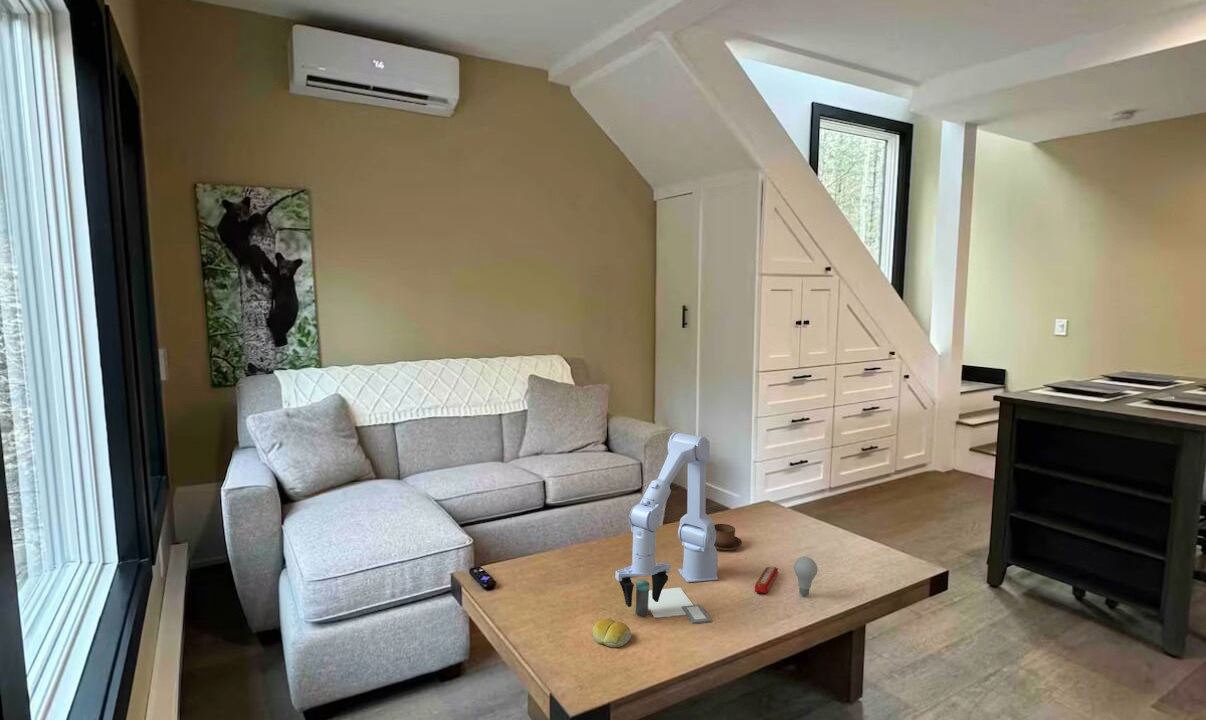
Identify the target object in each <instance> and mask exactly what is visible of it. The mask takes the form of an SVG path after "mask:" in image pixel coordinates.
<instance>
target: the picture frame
mask: <svg viewBox="0 0 1206 720" xmlns="http://www.w3.org/2000/svg"><path fill="white" fill-rule="evenodd" d="M682 609H683V610H684V612H685V613H686V615H685V616H687V619H688V620H689V621H690V622H691V624H693V625H695V624H696V625H698V624H705V623H706V624H707V623H712V622H713V621H712V619H711V618H710V616H709V615H708V613H707V612H706V611H705V610H704V608H703V607H702V606H701V605H700V604H693V605H690V606H682Z"/></svg>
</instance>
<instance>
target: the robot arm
mask: <svg viewBox="0 0 1206 720" xmlns="http://www.w3.org/2000/svg"><path fill="white" fill-rule="evenodd" d="M667 453H668V454H667V456H666V459H665V461H664V463H663V465H662V468H661V470H660V472H659V475H658V476H657V479H654V480H651V482H650V483H649V485H648V487H647V489H646V490H645V492H644V494H643V496H642V498H641V499H640V501H639V503H637V504H635V505H633V506H632V508H631V510H630V512H629V516H628V523H629V525H630V531H631V533H632V555H631V557H632V558H631V565H630V566H627V567H624V568H621V569H618V570H615V574H614V575H615V579H616V580H617V582H618V583H619V585H620V587H621V590H622V592H623V596H624V601H625V605H626V606H627V607H628V608H631V607H632V605H633V592H634V591H633V590H634V587H635V584H634V583H633V581H632V579H634V578H639V577H651V583H652V585H651V587H652V588H651V590H652V599H653V600H654V601H655V602H658V600H659V597H660V594H661V591H662V589H664V586H665V584H666V583H667V582H668V580H669V575H668V574H670V572H671V565H670V564H668V563H667V562H661V563H659V562H658V563H657V562H656V563H655V561H656V541H657V539H656V538H657V536H656V533H657V529H659V528H658V527H659V526H660V524H661V521H662V516H663V512H664V511H663V508H664V506H665V504H666V503H667V500H668V499H669V497H670V495H671V493H672V490H671V487H670V486H671V484H672V482H673V481H674V479H675V478H676V476H677V475H678V474H679V472H680V470H681V468H682V467H683V466H684V465H685V464H687V504H686V505H687V509H686V510H687V511H686V514H684V515H683V516H682V517H681V518H680V519H679V527H678V529H677V537H678V540H679V541H680V542H681V546H683V558H682V559H683V562H682V563H683V564H682V568H678V569H677V571H678V573H679V574H680V575H681V576H682V578H683V579H684V581H685V582H686V583H692V582H693V583H695V582H706V581H707V582H709V581H717V580H718V579H719V578H718V561H719V559H718V558H719V555H718V551H717V550H718V549H716V548H715V546H714V544H715V541H716V531H715V526H714V525H715V521H714V520H713V519H712V518H711V517H710V516H709V515H708V514H707V513H706V503H707V502H706V500H707V499H706V497H707V495H706V494H707V493H706V490H707V489H706V485H707V484H706V483H707V478H706V477H707V462H709V461H710V440H709V439H708V438H707V437H706V436H699V435H693V434H688V433H682V432H680V431H675V432H673V433H672V434H671V435H670V436H669V439H668V442H667Z"/></svg>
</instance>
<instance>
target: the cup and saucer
mask: <svg viewBox="0 0 1206 720" xmlns="http://www.w3.org/2000/svg"><path fill="white" fill-rule="evenodd" d="M714 526H715V531H716V541H715V544H714V546H715V548H716V550H719V551H734V550H737V549H739V548H740V547H741V546H742V544H743V542H742V540H741V538H739V537H738V536H736V528H735V527H734V526H733V525H730V524H728V523H727V524H726V523H716V524H715V523H714Z"/></svg>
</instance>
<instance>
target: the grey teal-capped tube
mask: <svg viewBox="0 0 1206 720" xmlns="http://www.w3.org/2000/svg"><path fill="white" fill-rule="evenodd" d="M635 588H636V589H635V591H636V592H635V614H636V616H638V617H646V616H648V615H649V608H648V598H649V590H650V582H649V581H647V580H640V579H639V580H637V581H636V582H635Z"/></svg>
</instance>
